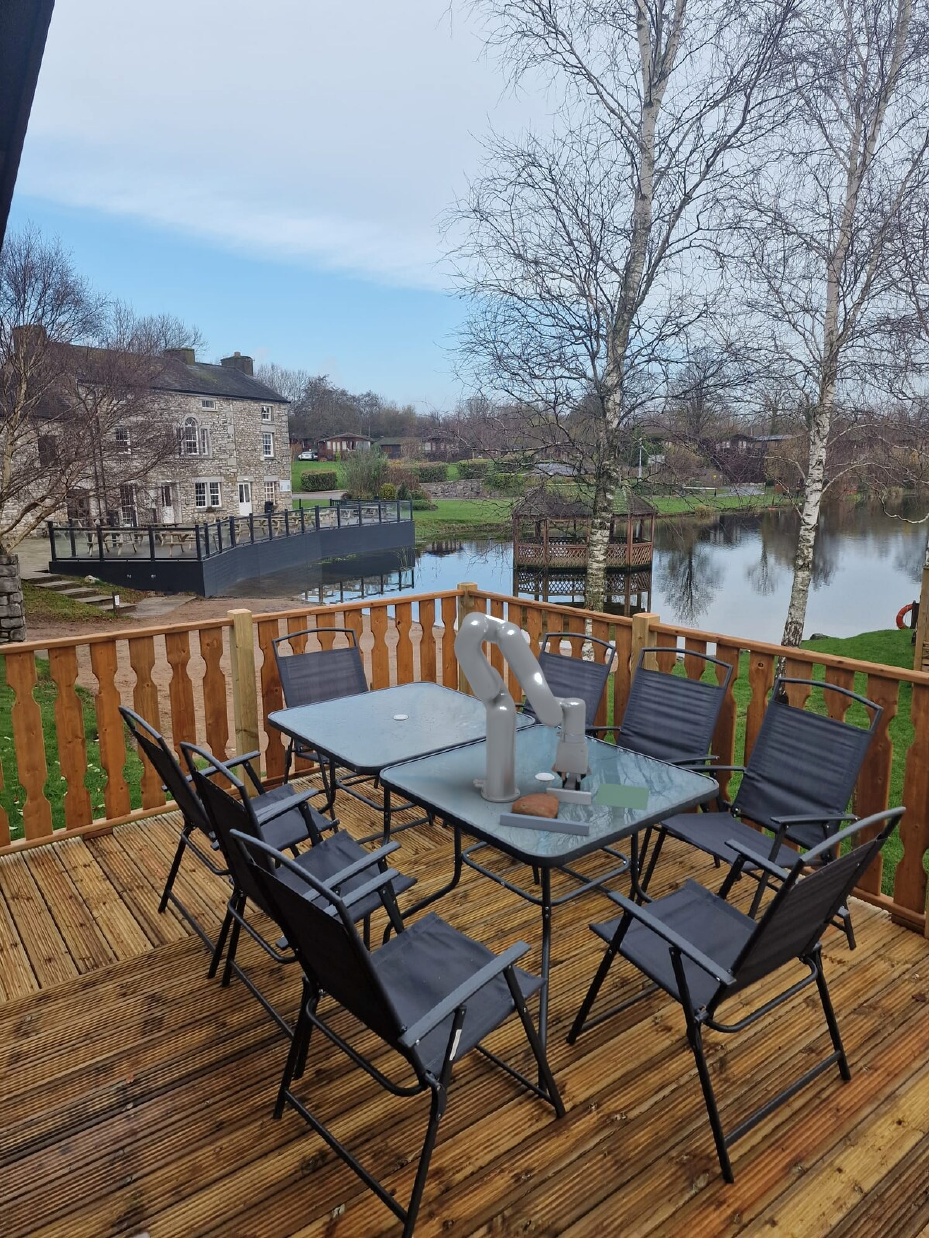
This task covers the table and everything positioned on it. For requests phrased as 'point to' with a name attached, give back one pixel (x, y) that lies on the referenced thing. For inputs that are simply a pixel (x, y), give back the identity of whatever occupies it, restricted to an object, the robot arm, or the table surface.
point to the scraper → (571, 792)
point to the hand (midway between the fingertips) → (571, 790)
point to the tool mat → (622, 796)
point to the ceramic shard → (537, 805)
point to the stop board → (544, 823)
